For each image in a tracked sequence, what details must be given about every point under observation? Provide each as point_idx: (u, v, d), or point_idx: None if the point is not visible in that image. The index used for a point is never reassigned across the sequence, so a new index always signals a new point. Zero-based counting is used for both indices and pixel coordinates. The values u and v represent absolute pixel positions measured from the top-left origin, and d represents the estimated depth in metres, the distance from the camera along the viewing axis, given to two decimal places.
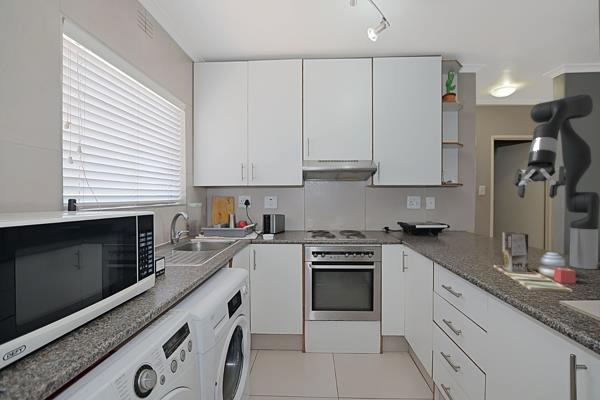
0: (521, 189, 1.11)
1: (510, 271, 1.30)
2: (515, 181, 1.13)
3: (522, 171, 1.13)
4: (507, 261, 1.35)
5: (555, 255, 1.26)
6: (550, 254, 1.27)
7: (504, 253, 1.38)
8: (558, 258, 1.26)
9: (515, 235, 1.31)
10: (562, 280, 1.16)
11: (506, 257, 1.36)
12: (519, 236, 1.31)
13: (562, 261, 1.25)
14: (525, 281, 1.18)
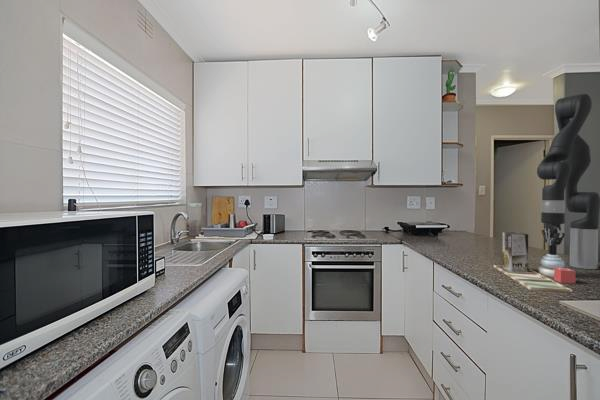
0: (548, 248, 1.29)
1: (510, 271, 1.30)
2: (545, 240, 1.31)
3: None
4: (507, 261, 1.35)
5: (555, 257, 1.26)
6: (550, 256, 1.27)
7: (504, 253, 1.38)
8: (558, 260, 1.26)
9: (515, 235, 1.31)
10: (562, 280, 1.16)
11: (506, 257, 1.36)
12: (519, 236, 1.31)
13: (562, 263, 1.25)
14: (525, 281, 1.18)
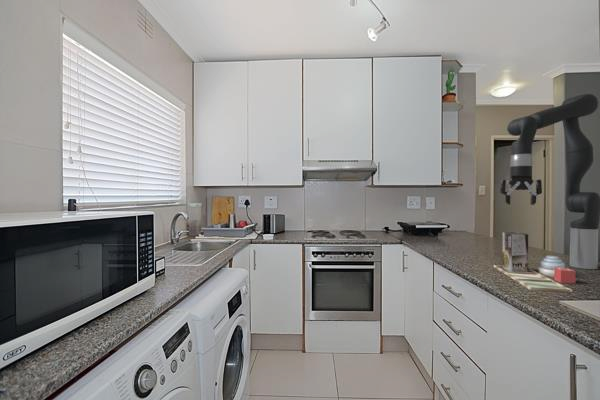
0: (509, 198, 1.33)
1: (510, 271, 1.30)
2: (503, 191, 1.34)
3: (507, 181, 1.34)
4: (507, 261, 1.35)
5: (555, 259, 1.26)
6: (550, 258, 1.27)
7: (504, 253, 1.38)
8: (558, 262, 1.26)
9: (515, 235, 1.31)
10: (562, 280, 1.16)
11: (506, 257, 1.36)
12: (519, 236, 1.31)
13: (562, 265, 1.25)
14: (525, 281, 1.18)
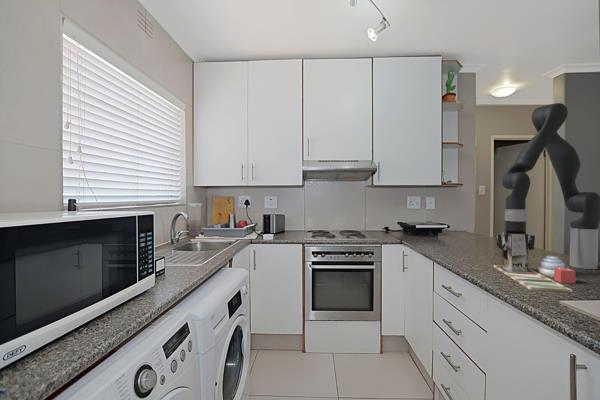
0: (506, 253, 1.35)
1: (510, 271, 1.30)
2: (500, 246, 1.35)
3: (502, 236, 1.36)
4: (507, 261, 1.35)
5: (555, 259, 1.26)
6: (550, 258, 1.27)
7: None
8: (558, 262, 1.26)
9: (515, 235, 1.31)
10: (562, 280, 1.16)
11: None
12: (519, 236, 1.31)
13: (562, 265, 1.25)
14: (525, 281, 1.18)
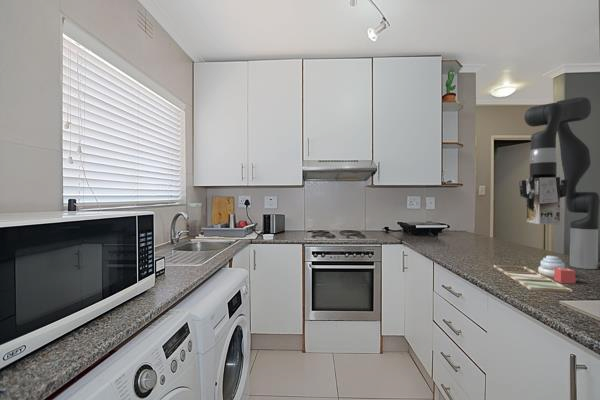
0: (532, 202, 1.12)
1: (510, 271, 1.30)
2: (525, 194, 1.12)
3: (526, 182, 1.13)
4: (533, 212, 1.12)
5: (555, 259, 1.26)
6: (550, 258, 1.27)
7: None
8: (558, 262, 1.26)
9: (544, 179, 1.08)
10: (562, 280, 1.16)
11: None
12: (549, 180, 1.08)
13: (562, 265, 1.25)
14: (525, 281, 1.18)
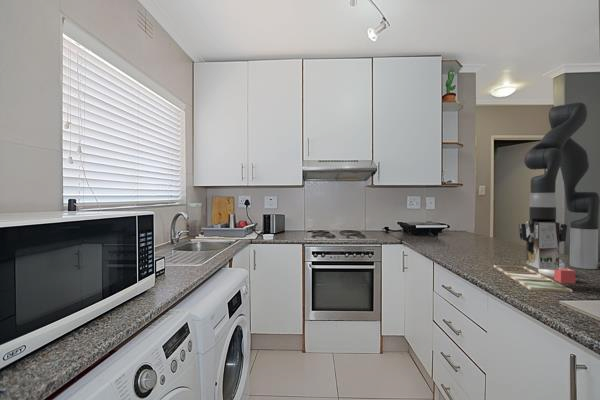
0: (532, 246, 1.12)
1: (510, 271, 1.30)
2: (525, 237, 1.13)
3: (526, 225, 1.13)
4: (533, 255, 1.12)
5: None
6: None
7: None
8: None
9: (543, 224, 1.08)
10: (562, 280, 1.16)
11: None
12: (548, 225, 1.08)
13: (562, 265, 1.25)
14: (525, 281, 1.18)
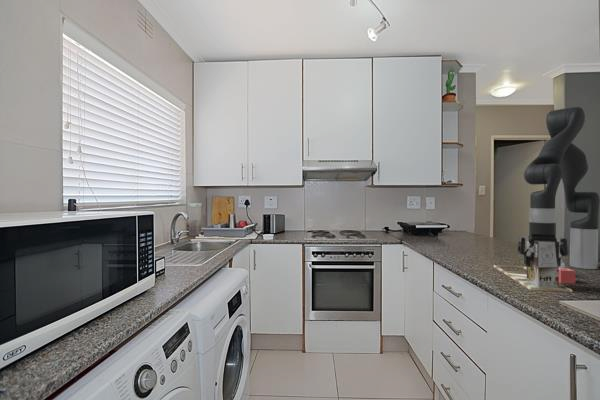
0: (529, 260, 1.12)
1: (510, 271, 1.30)
2: (522, 251, 1.13)
3: (526, 239, 1.13)
4: (532, 274, 1.13)
5: None
6: None
7: None
8: None
9: (543, 243, 1.09)
10: (562, 280, 1.16)
11: (531, 269, 1.14)
12: (548, 244, 1.08)
13: (562, 265, 1.25)
14: (525, 281, 1.18)
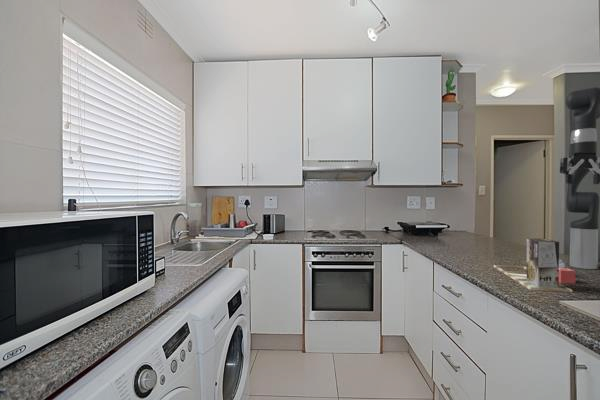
0: (571, 178, 1.22)
1: (510, 271, 1.30)
2: (565, 170, 1.22)
3: (568, 159, 1.23)
4: (532, 274, 1.13)
5: None
6: None
7: (529, 264, 1.15)
8: None
9: (543, 243, 1.09)
10: (562, 280, 1.16)
11: (531, 269, 1.14)
12: (548, 244, 1.08)
13: (562, 265, 1.25)
14: (525, 281, 1.18)
